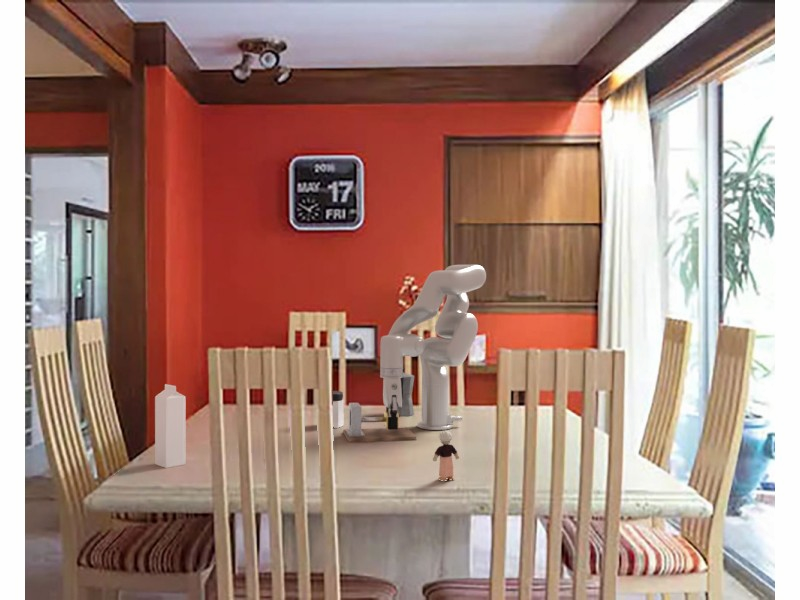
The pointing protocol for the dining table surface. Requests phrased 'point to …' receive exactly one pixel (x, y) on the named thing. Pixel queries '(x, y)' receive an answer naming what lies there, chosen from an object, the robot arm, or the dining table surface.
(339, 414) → the jar
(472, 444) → the dining table surface
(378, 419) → the yellow block headed rod
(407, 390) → the coffeepot
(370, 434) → the copper board
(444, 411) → the robot arm
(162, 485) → the dining table surface
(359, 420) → the brushed steel socket base
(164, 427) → the milk
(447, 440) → the grandmother figurine
